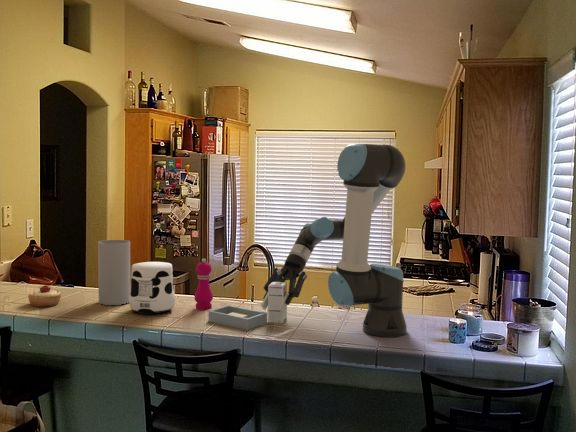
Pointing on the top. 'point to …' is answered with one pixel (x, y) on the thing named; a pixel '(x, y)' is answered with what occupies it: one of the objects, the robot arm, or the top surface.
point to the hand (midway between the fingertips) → (271, 309)
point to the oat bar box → (239, 315)
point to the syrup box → (276, 302)
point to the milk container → (151, 287)
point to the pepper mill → (203, 286)
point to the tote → (237, 317)
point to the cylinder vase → (114, 272)
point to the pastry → (44, 297)
